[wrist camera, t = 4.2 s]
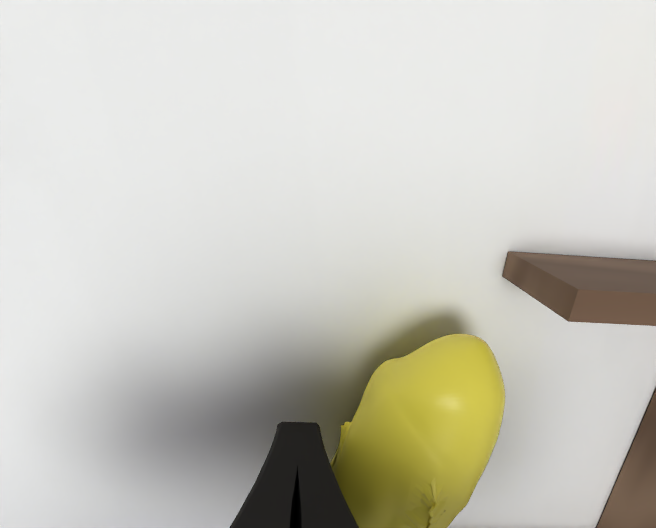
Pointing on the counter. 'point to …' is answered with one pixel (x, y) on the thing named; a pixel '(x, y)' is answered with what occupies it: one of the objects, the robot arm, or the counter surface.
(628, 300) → the brown open frame
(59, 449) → the counter surface
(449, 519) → the yellow potato
